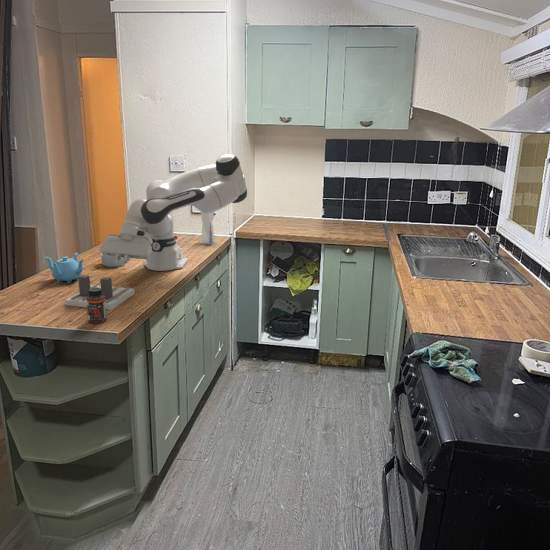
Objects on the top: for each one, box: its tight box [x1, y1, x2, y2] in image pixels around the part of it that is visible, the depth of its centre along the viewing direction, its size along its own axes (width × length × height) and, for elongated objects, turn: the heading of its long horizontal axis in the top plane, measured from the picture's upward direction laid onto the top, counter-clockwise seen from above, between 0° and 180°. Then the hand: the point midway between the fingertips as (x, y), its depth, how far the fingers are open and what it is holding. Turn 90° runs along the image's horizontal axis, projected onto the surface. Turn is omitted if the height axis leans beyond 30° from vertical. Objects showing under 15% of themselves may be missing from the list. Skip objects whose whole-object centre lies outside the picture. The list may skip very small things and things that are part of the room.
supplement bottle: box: [86, 287, 107, 324], centre depth 168 cm, size 6×6×11 cm
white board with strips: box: [64, 284, 136, 311], centre depth 189 cm, size 18×18×3 cm
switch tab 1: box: [77, 274, 91, 297], centre depth 186 cm, size 2×3×8 cm
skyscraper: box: [200, 212, 218, 246], centre depth 273 cm, size 8×8×28 cm
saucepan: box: [99, 252, 125, 268], centre depth 237 cm, size 12×20×6 cm, turn 159°
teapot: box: [44, 252, 85, 284], centre depth 209 cm, size 13×13×10 cm
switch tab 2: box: [99, 276, 113, 299], centre depth 184 cm, size 2×3×8 cm
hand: (119, 266), depth 193 cm, fingers closed
